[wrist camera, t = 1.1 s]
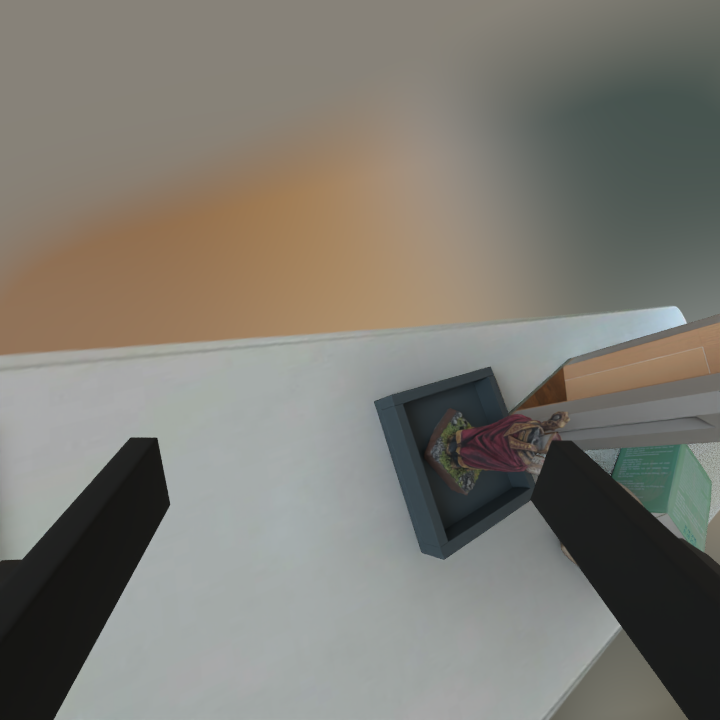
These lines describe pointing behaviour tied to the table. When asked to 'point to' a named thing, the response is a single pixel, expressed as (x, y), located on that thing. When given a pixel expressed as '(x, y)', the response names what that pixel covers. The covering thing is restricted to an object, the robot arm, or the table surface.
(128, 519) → the robot arm
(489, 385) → the dark grey square tray
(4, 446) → the table surface
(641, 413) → the cabinet
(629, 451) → the box
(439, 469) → the figurine
